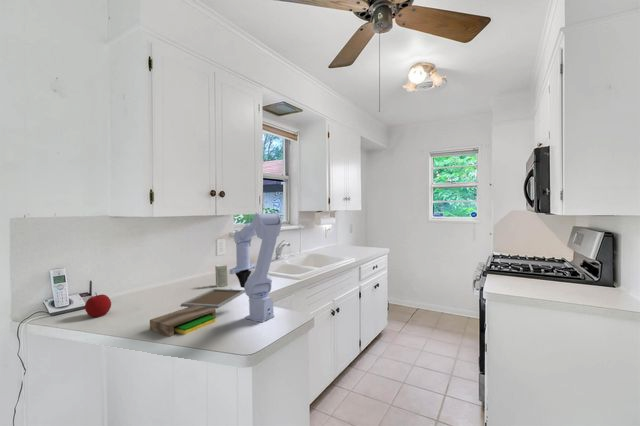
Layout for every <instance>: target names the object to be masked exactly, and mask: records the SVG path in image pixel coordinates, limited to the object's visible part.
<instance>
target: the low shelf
mask: <svg viewBox="0 0 640 426" xmlns="http://www.w3.org/2000/svg"><path fill="white" fill-rule="evenodd" d="M216 309H217V308H209V307H204V306H200V305H194V306H191V307H190V306H187V307H186V308H182V309H177V310H176V311H173V312H172V311H171V312H170V313H166V314H164V315H160V316H158V317H154V318H152V319H149V331H151V332H155V333H158V334H160V335H164V336H168V337H171V336H174V335H175V332H174V326H176V325H179V324H182V323H184V322H187V321H190V320H192V319H195V318H198V317H200V316H203V315H209V316H214V317H215V319H216V318H217V317H216V313H217V312H216Z"/></svg>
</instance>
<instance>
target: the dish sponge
mask: <svg viewBox="0 0 640 426" xmlns="http://www.w3.org/2000/svg"><path fill="white" fill-rule="evenodd" d="M214 323H216V318H215V317H214V316H209V315H203V316H200V317H198V318H195V319H192V320H190V321H187V322H184V323H182V324H179V325H176V326H174V333H177V332H178V334H182V335H187V333H188V334H190V333H192V332H195V331H198V330H200V329H201V328H204V327H206V326H209V325H212V324H214ZM194 330H195V331H194ZM189 332H190V333H189Z"/></svg>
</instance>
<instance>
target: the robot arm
mask: <svg viewBox="0 0 640 426" xmlns="http://www.w3.org/2000/svg"><path fill="white" fill-rule="evenodd" d="M282 224H283V222H282V218H281V216H280V213H277V212H275V213H255V214H253V216H252V222H251V223H245V226H244V227H243V228H241V229H240V230H235V231H234V233H233V240H234V244H235V245H236V248H235V249H236V266H235V267H233V268H230V269H229V275H236V278H237V279H238V282H239V285H240V288H244V289H243V290H245V292H244V294H245V295H246V296H247V297H248V302H249V303H248V304H249V305H248V307H249V308H248V309H249V315H247V316H244V319H247V320H251V321H255V322H260V323H264V322H265V321H268V320H270V319H271V318H274V317H275V316H276V315H275V314H274V300H273V298H272V297H270V296H269V295H270V294H269V293H270V292H271V291H272V282H273V279H272V277H271V276H270V275H269V270H270V267H271V262H272V257H273V254H274V250H275V246H276V242H277V239H278V237H279V236H280V232H281V228H282ZM254 236H256V237H257V238H258V239H260V240H261V244H260V248H259V252H258V256H257V261H256V264H254V263H252V264H250V263H251V262H250V260H251V259H250V247H251V245H252V244H251V242H252V238H253V237H254ZM251 270H254V272H253V273H252V271H251Z"/></svg>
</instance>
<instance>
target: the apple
mask: <svg viewBox="0 0 640 426" xmlns="http://www.w3.org/2000/svg"><path fill="white" fill-rule="evenodd" d="M94 294H95V295H94V296H91V297H89V298H88V299H87V300H86V302H85V305H84V309H85V313H87V315H88V316H90V317H92V318H93V317H94V318H99V317H102V316H105V315H106V314H107V313H108V312H110V310H111V308H112V300H111V299H110V297H109V296H108V295H107V294H104V293H103V294H102V293H101V294H98V295H97V292H95V293H94Z"/></svg>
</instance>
